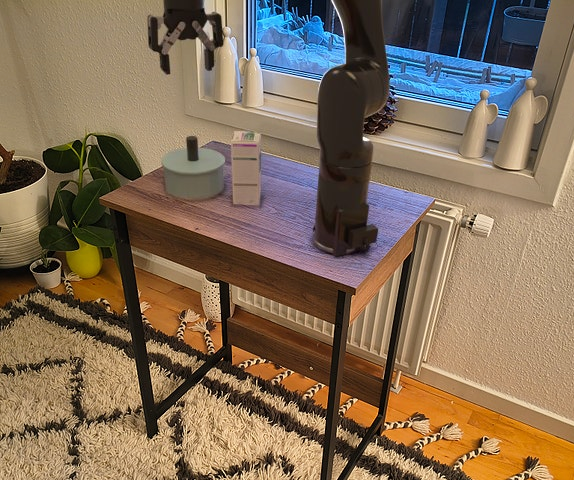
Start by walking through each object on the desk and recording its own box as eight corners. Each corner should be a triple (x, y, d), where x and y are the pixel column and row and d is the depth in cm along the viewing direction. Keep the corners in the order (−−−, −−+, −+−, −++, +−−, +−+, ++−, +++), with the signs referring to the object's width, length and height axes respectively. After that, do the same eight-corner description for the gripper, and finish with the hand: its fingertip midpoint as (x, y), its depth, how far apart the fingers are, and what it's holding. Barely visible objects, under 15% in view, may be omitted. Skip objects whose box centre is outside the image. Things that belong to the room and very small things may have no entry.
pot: (232, 195, 126) (231, 168, 123) (176, 205, 122) (174, 177, 118) (211, 173, 136) (210, 147, 132) (158, 181, 131) (156, 155, 127)
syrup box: (259, 207, 122) (260, 141, 114) (231, 206, 122) (230, 139, 114) (261, 195, 127) (262, 131, 119) (234, 194, 127) (233, 129, 118)
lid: (234, 171, 123) (234, 144, 120) (172, 181, 118) (170, 154, 114) (211, 148, 133) (210, 123, 129) (153, 157, 128) (150, 131, 124)
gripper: (150, -17, 99) (158, 80, 109) (227, -19, 105) (229, 73, 114) (138, -23, 105) (147, 70, 114) (212, -25, 110) (215, 64, 120)
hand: (188, 71), depth 114 cm, fingers open, 8 cm apart
